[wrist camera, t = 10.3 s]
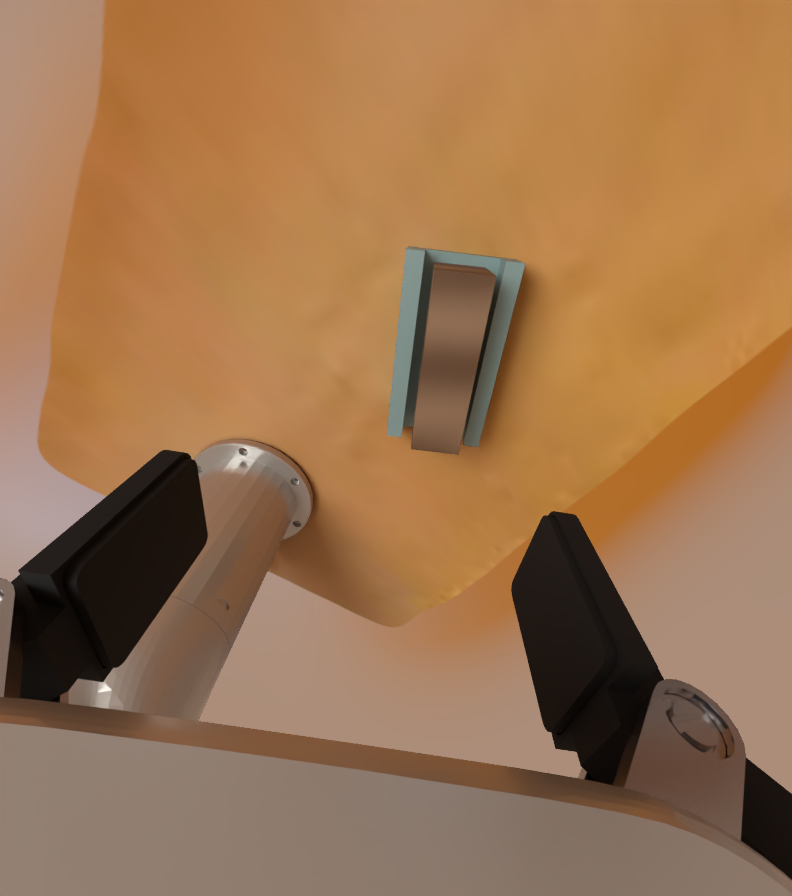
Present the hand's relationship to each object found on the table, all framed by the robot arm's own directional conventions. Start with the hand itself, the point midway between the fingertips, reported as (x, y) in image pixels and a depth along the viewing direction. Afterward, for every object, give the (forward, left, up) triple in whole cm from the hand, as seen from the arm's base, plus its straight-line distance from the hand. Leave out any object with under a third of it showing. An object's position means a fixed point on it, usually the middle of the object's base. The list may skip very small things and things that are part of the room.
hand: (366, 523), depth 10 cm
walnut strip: (-1, -3, -21) cm, 21 cm away
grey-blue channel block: (-1, -3, -22) cm, 22 cm away
